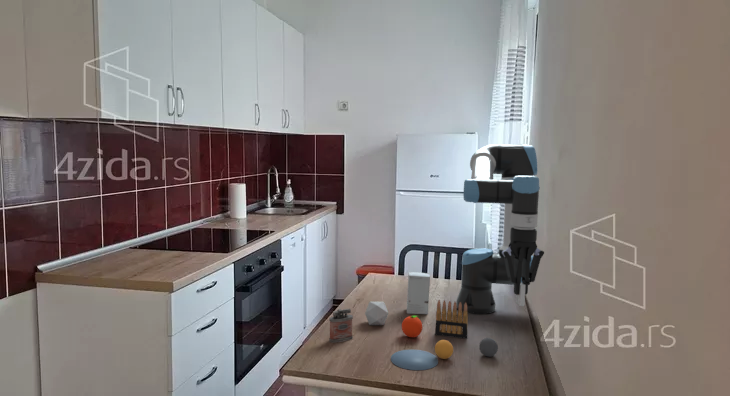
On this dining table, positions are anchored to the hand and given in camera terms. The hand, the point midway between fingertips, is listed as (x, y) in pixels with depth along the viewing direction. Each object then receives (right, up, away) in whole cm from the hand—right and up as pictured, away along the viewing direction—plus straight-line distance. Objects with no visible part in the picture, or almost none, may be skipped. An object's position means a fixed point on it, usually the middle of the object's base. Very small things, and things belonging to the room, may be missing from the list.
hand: (520, 304), depth 150 cm
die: (-43, -13, +26) cm, 52 cm away
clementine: (-31, -14, +15) cm, 37 cm away
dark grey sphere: (-10, -13, 0) cm, 16 cm away
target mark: (-32, -16, -3) cm, 36 cm away
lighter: (-55, -14, +12) cm, 58 cm away
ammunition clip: (-18, -14, +16) cm, 28 cm away
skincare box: (-27, -12, +40) cm, 49 cm away
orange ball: (-23, -13, -2) cm, 27 cm away
